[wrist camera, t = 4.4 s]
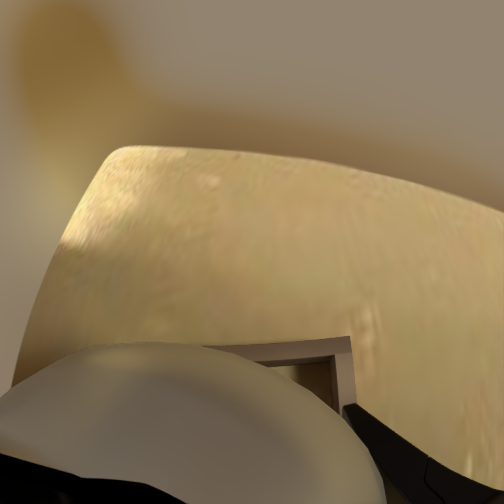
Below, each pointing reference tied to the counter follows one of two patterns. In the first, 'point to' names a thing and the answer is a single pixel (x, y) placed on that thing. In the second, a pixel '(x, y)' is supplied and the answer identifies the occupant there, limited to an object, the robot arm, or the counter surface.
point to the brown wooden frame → (308, 361)
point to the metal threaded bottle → (175, 433)
